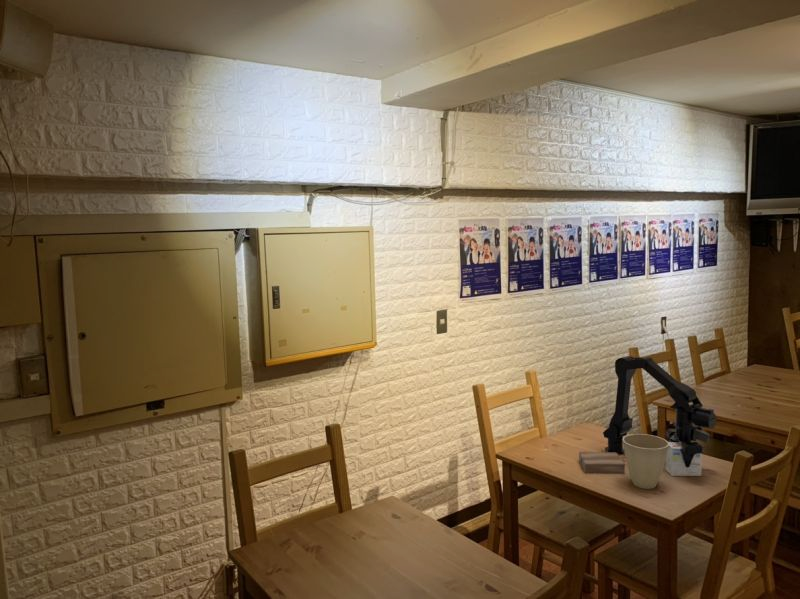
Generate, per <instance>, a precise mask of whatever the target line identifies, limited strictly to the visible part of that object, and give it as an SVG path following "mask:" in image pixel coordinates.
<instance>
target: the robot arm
mask: <svg viewBox="0 0 800 599" xmlns="http://www.w3.org/2000/svg"><path fill="white" fill-rule="evenodd" d="M637 369H643V370H644V371H645V372H646V373H647V374H649V375H650V376H651V377H652V378H653V379H654V380H655V381H657V382H658V383H659V384H660V385H661V386H662V387H663V388H664V389H666V390H667V392H668V394H669V397H670V398H671V399H672V400H673V401H674V403H673V404H672V405H671V406H669V408H670V409H672V410H675V422H673V426H674V427H675V428H668V429H667V430H666V431H665V437H666V438H668V442H681V443H683V444H682V445H681V448H682V449H680V451H681V454H682V457H683V460H684V463H685V466H686V467H690V464H691V462H692V459H693V457H694V455H695V454H698V453H702V454H704V447H703V446H702V445H701V444H700V443H699V442H697V441H701V442H703V443H705V444H707V443H708V442H709V439H710V436H711V435H710V433H708V432H707V431H705V430H702V429H703V428H706V429H709V430H713V429H714V428H715V427H716V425H717V422H718V421H717V420H718V418H717V415H716V413H715V410H714V409H713V408H707V407H706V408H705V407H703V404H702V402H701V401H700V399H699V397H698V396H697V392H696V390H694V388H693V387H691V386H689V385H688V384H686V383H683V382H681V381H678V380H677V379H675V377H673V376H672V375H671V374H669V373H668V372H667V371H666V370H665V369H663V367H661V366H660V365H659V364H658V363H657V362H655V361H654V359H653V358H652V357H650V356H645V357H643V356H641V357H635V356H633V355H626V356H623V357H622V356H621V357H619V358H617V359H616V360H615V362H614V370H615V371H614V372H615V374H616V376H617V388H616V395H615V396H616V397H615V405H614V406H615V408H614V409H615V410H614V413H613V415H612V416H611V418H610V420H609V424H608V428H606V429H604V431H603V432H602V434H603V437H604V439H605V438H606V439H607V446H606V447H604V448H605V451H607V452H616V453H617V454H618V455H621V454H622V455H625V452H624V444H623V438H624V437H625V436H627V434H628V433H629V432H630V431H631V429H632V428H633V421H634V419H633V417H630V415H629V405H630V395H631V394H630V393H631V385H632V379H633V377H634V376H635V374H636V372H637ZM691 403H692V404H691Z"/></svg>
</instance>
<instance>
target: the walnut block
mask: <svg viewBox="0 0 800 599" xmlns="http://www.w3.org/2000/svg"><path fill="white" fill-rule="evenodd" d="M578 461H579V463H580V465H582V466H581V468H582V469H583V472H584V473H585V474H593V473H596V474H597V475H599V474H603V475H604V474H605V475H606V474H607V475H608V474H609V475H615V474H617V475H619V474H620V475H621V474H622V475H625V472H626V471H625V469H626V468H625V466H626V465H625V463H624V461H623V460H622V458H621V457H620V455H619V454H617V453H616V452H608V451H607V452H606V451H602V452H601V451H600V452H598V451H595V452H594V451H588V452H585V451H583V452H582V451H579V453H578Z"/></svg>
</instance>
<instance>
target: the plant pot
mask: <svg viewBox="0 0 800 599" xmlns="http://www.w3.org/2000/svg"><path fill="white" fill-rule="evenodd" d="M668 442H669V440H668V441H667V440H666V439H664V438H663V437H659V436H657V435H652V434H645V433H632V434H628V435H626V436H623V450H624V452H625V454H624V456H625V460H626V462H625V463H626V465H627V470H628V472H629V476H630V478H631V481H632V484H633V485H634V486H635V487H637V488H639V489H643V490H644V489H645V490H650V489H654V488H656V487H657V484H658V482H659V480H660V478H661V475H662V472H663V470H664V467H665V465H666V456H667V452H668V447H669V443H668Z"/></svg>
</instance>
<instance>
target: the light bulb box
mask: <svg viewBox="0 0 800 599" xmlns="http://www.w3.org/2000/svg"><path fill="white" fill-rule="evenodd" d="M668 443H669V447H668V452H667V456H666V460H665V467H666V468H665V469H666V471H667V472H668V473H669V474H670V476H671V477H673V476H674V477H701V476H702V462H703V461H702V458H703V456H702V454H703V453H698V454H695V455H694V457H693V459H692V462H691V464H690V467H686V466H685V463H684V460H683V457H682V454H681V451H680V449H682V448H681V445H682V444H683V443H681V442H670V441H668Z"/></svg>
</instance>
